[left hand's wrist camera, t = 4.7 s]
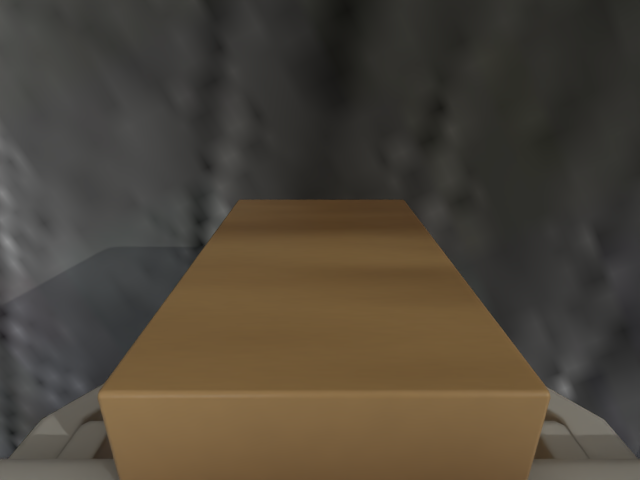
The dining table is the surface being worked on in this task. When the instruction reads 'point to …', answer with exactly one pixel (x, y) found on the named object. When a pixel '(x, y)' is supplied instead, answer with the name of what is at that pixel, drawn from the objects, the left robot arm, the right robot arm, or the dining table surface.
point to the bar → (323, 359)
